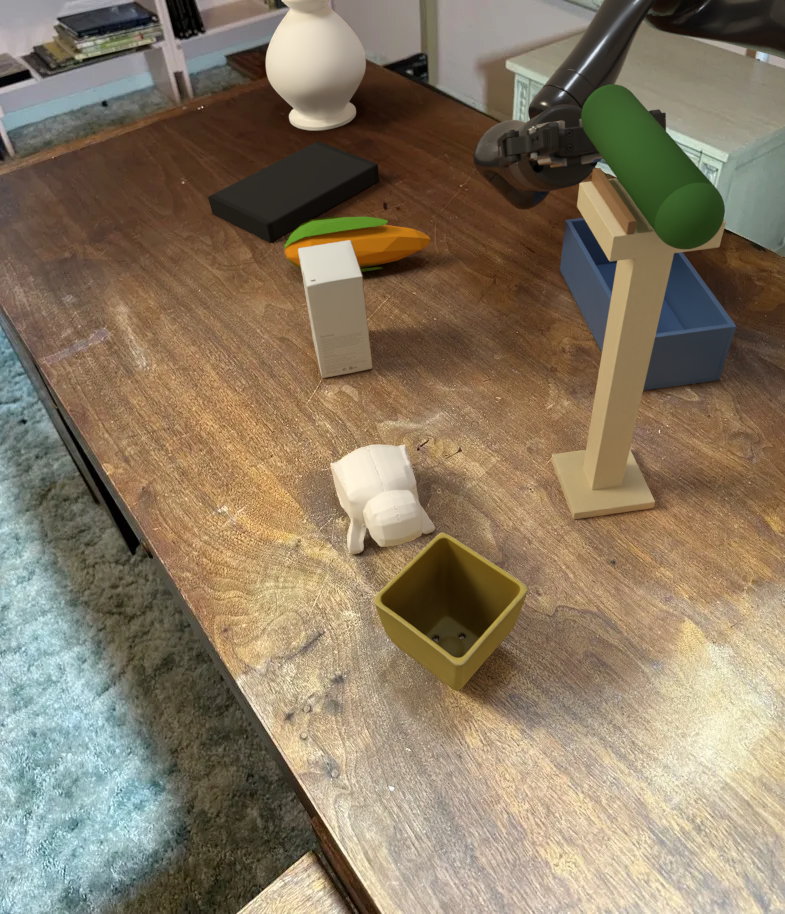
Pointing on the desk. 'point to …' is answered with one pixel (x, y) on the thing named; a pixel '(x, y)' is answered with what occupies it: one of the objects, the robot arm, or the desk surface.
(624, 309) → the wooden cradle stand
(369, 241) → the corn
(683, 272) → the open box
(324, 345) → the small box
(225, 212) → the external hard drive
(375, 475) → the white animal figurine
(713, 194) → the green cylinder
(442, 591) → the flower pot
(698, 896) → the desk surface
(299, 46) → the decorative vase
